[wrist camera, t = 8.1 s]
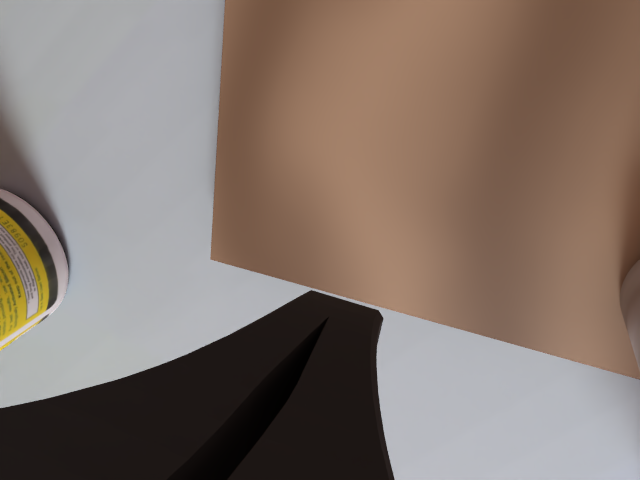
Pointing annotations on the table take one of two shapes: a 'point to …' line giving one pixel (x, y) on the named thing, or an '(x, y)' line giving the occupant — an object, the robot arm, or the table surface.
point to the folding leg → (632, 307)
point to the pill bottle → (27, 268)
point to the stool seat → (439, 161)
